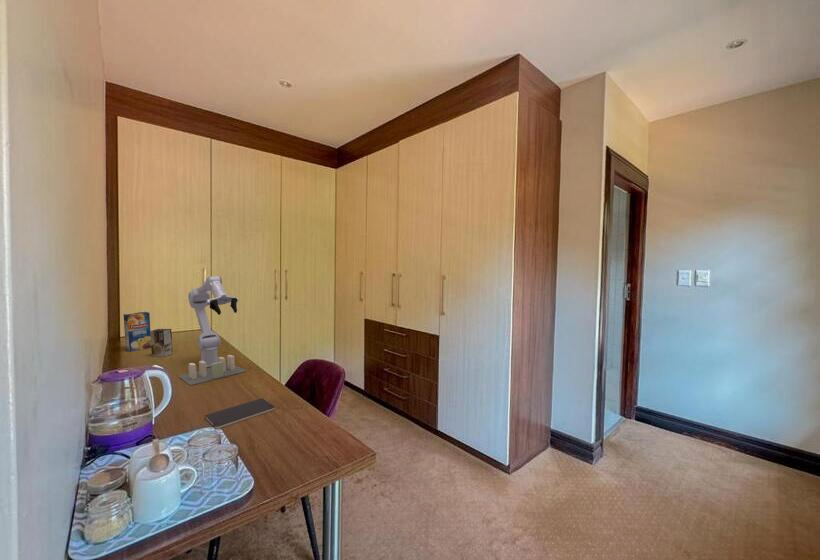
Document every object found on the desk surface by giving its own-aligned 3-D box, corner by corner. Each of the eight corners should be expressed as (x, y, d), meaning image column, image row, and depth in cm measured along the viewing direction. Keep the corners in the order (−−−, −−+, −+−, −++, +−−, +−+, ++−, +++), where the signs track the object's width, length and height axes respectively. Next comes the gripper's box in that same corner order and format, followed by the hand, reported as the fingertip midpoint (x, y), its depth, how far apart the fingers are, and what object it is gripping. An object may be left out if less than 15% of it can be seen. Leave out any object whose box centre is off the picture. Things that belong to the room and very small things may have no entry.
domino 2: (202, 377, 168) (202, 363, 168) (199, 374, 171) (198, 361, 171) (206, 376, 169) (206, 362, 169) (203, 374, 173) (202, 360, 172)
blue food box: (147, 346, 232) (145, 311, 231) (151, 347, 228) (149, 312, 226) (125, 350, 222) (123, 314, 221) (129, 351, 218) (127, 315, 217)
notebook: (262, 401, 141) (204, 419, 125) (262, 397, 140) (204, 415, 125) (276, 410, 132) (216, 431, 116) (275, 406, 132) (215, 426, 116)
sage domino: (211, 377, 167) (211, 363, 166) (222, 375, 171) (221, 361, 170) (213, 378, 166) (212, 364, 165) (223, 375, 169) (222, 362, 169)
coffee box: (173, 353, 212) (172, 328, 211) (164, 356, 206) (163, 330, 205) (160, 353, 213) (158, 328, 212) (151, 356, 207) (149, 330, 206)
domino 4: (231, 370, 178) (230, 357, 178) (227, 368, 181) (227, 355, 181) (234, 369, 180) (234, 356, 179) (231, 367, 183) (230, 354, 182)
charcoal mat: (177, 376, 170) (177, 375, 170) (231, 364, 190) (231, 363, 190) (190, 385, 157) (190, 384, 157) (247, 371, 177) (246, 370, 177)
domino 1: (192, 379, 165) (191, 365, 164) (189, 377, 168) (188, 363, 167) (196, 378, 166) (195, 364, 166) (193, 376, 169) (192, 362, 169)
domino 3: (222, 372, 175) (221, 359, 174) (218, 370, 178) (217, 357, 178) (225, 371, 176) (225, 358, 176) (222, 369, 179) (221, 356, 179)
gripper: (205, 289, 168) (214, 308, 162) (235, 287, 179) (244, 305, 173) (202, 299, 171) (210, 318, 165) (232, 296, 182) (241, 314, 176)
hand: (228, 312), depth 169 cm, fingers open, 7 cm apart
